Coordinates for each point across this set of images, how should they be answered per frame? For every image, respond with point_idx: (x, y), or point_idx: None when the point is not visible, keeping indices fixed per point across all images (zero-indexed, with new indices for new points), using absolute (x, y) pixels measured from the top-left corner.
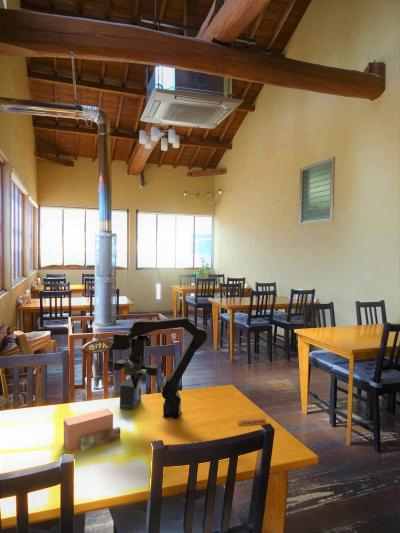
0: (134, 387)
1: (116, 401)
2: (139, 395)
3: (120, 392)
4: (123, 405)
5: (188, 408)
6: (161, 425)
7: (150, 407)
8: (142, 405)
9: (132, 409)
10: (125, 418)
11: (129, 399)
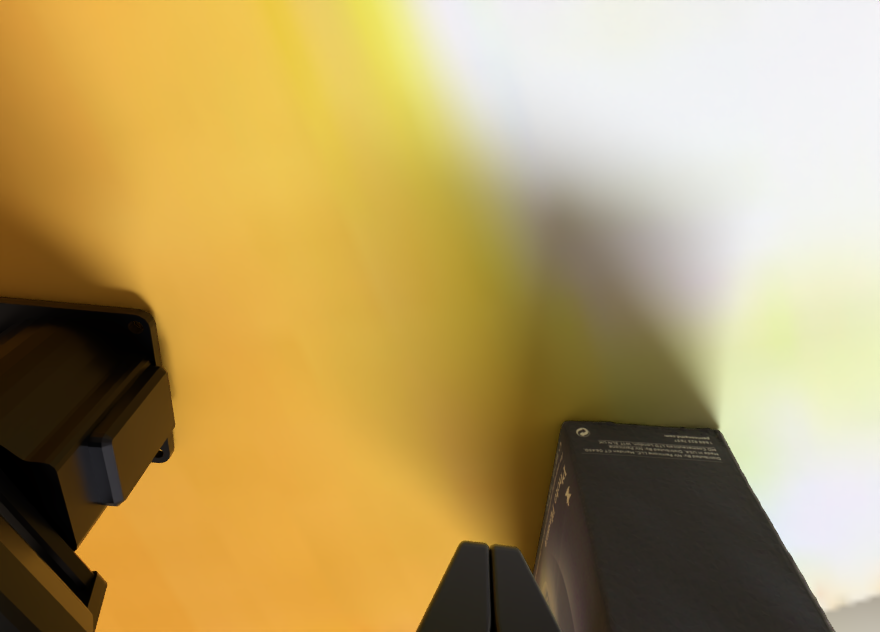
0: (514, 563)
1: None
2: None
3: (808, 593)
4: (686, 451)
5: None
6: (65, 107)
7: (385, 494)
8: (483, 519)
9: (563, 423)
10: (592, 212)
11: (629, 509)
